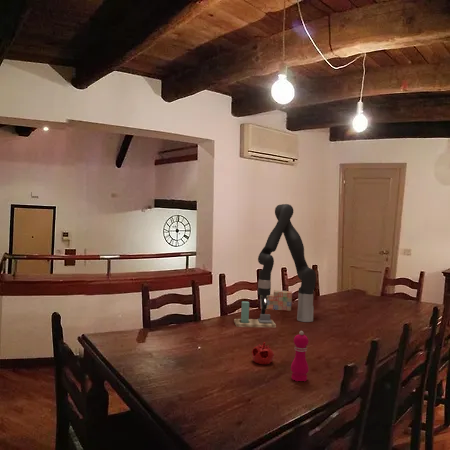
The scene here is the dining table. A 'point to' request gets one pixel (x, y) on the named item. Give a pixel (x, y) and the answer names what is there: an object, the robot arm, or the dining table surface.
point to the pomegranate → (262, 354)
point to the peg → (245, 312)
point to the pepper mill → (300, 358)
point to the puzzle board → (254, 323)
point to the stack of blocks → (279, 300)
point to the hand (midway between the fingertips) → (262, 315)
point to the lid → (264, 318)
